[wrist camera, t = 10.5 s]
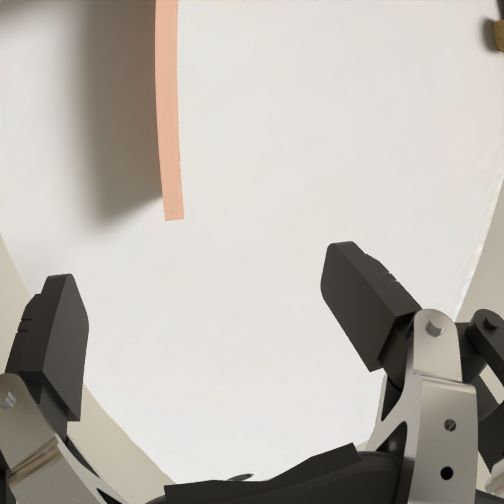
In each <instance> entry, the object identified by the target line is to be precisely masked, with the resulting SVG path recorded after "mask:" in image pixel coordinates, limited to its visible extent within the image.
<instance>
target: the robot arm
mask: <svg viewBox="0 0 504 504" xmlns="http://www.w3.org/2000/svg"><path fill="white" fill-rule="evenodd" d="M321 293H322V296H323V299H324V301H325V302H326V304H327V305H328V307H329V308H330V310H331V311H332V313H333V315H334V316H335V318H336V319H337V321H338V322H339V324H340V325H341V327H342V329H343V330H344V332H345V333H346V335H347V337H348V338H349V340H350V341H351V343H352V344H353V346H354V348H355V349H356V351H357V352H358V354H359V356H360V357H361V359H362V360H363V362H364V364H365V365H366V367H367V369H368V370H369V372H372V371H375V370H378V369H381V368H384V370H385V372H386V373H385V375H384V377H383V381H382V388H381V394H380V400H379V406H378V412H377V417H376V422H375V427H374V430H373V432H372V435H371V437H370V439H369V441H368V443H367V446H366V449H365V451H357V450H356V448H355V446H354V444H353V442H352V443H350V444H347V445H345V446H342V447H339V448H336V449H333V450H331V451H328V452H325V453H322V454H319V455H316V456H312V457H310V458H308V459H307V460H305V461H303V462H302V463H300V464H298V465H296V466H295V467H293V468H291V469H289V470H287V471H286V472H284V473H282V474H280V475H278V476H276V477H274V478H273V479H270V480H268V481H223V480H209V481H202V482H194V483H186V484H176V485H165V486H164V491H165V495H163V496H161V497H158V498H155V499H153V500H151V501H149V502H147V503H146V504H504V400H503V402H502V403H501V404H500V405H499V404H498V403H497V401H496V400H495V398H494V396H493V395H492V393H491V392H490V390H489V389H488V387H487V386H486V384H485V383H484V382H483V380H482V379H481V377H480V376H479V374H480V373H481V372H482V371H483V369H484V368H485V367H486V365H487V364H488V365H489V366H490V368H491V369H492V371H493V372H494V373H495V375H496V376H497V378H498V379H499V380H500V382H501V383H502V385H503V387H504V320H503V319H502V318H501V317H500V316H499V315H498V314H496V313H494V312H492V311H490V310H487V309H480V310H477V311H476V312H475V314H474V315H473V317H472V319H471V321H470V322H469V323H468V322H467V323H454V322H453V321H452V320H451V318H449V317H448V316H447V315H446V314H444V313H442V312H440V311H438V310H435V309H422V308H421V306H420V305H419V304H418V303H417V302H416V301H415V300H414V298H413V297H412V296H411V295H410V294H409V293H408V292H407V291H406V290H405V288H404V287H403V286H402V285H401V284H400V283H399V282H397V281H396V279H395V277H394V276H393V275H392V274H389V271H388V270H387V269H386V268H385V267H384V266H383V265H382V264H381V263H380V262H379V261H378V260H376V259H374V258H373V257H371V256H369V255H368V254H365V253H364V252H363V251H362V250H361V249H360V248H359V247H358V246H357V245H356V244H355V243H354V242H352V241H348V242H340V243H332V244H330V245H329V246H328V248H327V252H326V258H325V263H324V268H323V273H322V278H321ZM88 333H89V322H88V316H87V312H86V310H85V307H84V304H83V302H82V299H81V296H80V294H79V291H78V288H77V285H76V282H75V279H74V277H73V275H72V274H61V275H53V276H48V277H47V279H46V281H45V284H44V286H43V289H42V292H41V294H35V296H34V297H33V298H32V299H31V300H30V302H29V303H28V304H27V306H26V307H25V310H24V313H23V315H22V318H21V322H20V324H19V327H18V333H16V336H15V339H14V342H13V345H12V348H11V352H10V355H9V358H8V362H7V366H6V369H5V373H3V374H0V504H16V500H17V502H18V503H19V504H129V503H128V502H127V501H126V500H125V499H124V498H123V497H122V496H121V495H119V493H118V492H116V491H115V490H114V489H113V488H112V487H111V486H110V485H109V484H108V483H107V482H106V481H105V480H104V479H103V478H102V476H101V475H100V474H99V473H98V472H97V470H96V469H95V468H94V467H93V466H92V465H91V463H90V462H89V461H88V459H87V458H86V457H85V456H84V454H83V453H82V452H81V450H80V449H79V448H78V447H77V445H76V444H75V442H73V440H72V438H71V437H70V436H69V434H68V433H67V421H80V414H81V398H82V384H83V374H84V364H85V356H86V348H87V340H88ZM478 451H479V453H480V454H481V456H482V458H483V460H484V462H485V464H486V466H487V468H488V469H489V471H490V473H491V477H490V478H489V479H488V480H487V481H486V483H485V489H486V491H487V492H488V493H486V492H483V491H480V490H477V489H476V477H477V459H478ZM489 493H495V494H494V495H492V494H489Z"/></svg>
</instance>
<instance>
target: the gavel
mask: <svg viewBox="0 0 504 504" xmlns="http://www.w3.org/2000/svg"><path fill="white" fill-rule="evenodd" d="M493 30H494V38H495V44H496V46H497V47H498V48H499V49H500V50H501V51H503V52H504V20H498V21H496V22H495V23H494V25H493Z"/></svg>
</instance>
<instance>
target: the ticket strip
mask: <svg viewBox="0 0 504 504" xmlns="http://www.w3.org/2000/svg"><path fill="white" fill-rule="evenodd" d="M177 13H178V0H156V14H155V84H156V112H157V131H158V146H159V160H160V172H161V183H162V194H163V204H164V213H165V221H168V220H177V219H184V212H183V199H182V186H181V170H180V153H179V132H178V102H177Z"/></svg>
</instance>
